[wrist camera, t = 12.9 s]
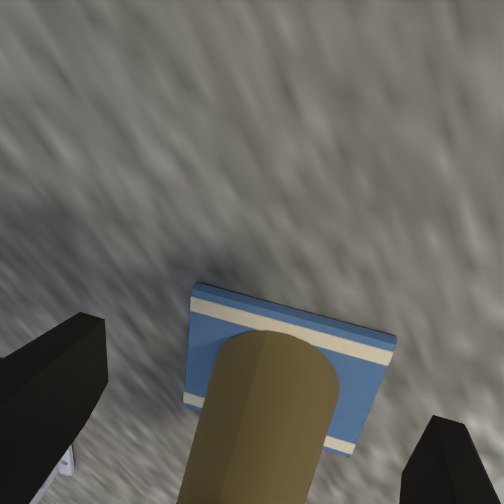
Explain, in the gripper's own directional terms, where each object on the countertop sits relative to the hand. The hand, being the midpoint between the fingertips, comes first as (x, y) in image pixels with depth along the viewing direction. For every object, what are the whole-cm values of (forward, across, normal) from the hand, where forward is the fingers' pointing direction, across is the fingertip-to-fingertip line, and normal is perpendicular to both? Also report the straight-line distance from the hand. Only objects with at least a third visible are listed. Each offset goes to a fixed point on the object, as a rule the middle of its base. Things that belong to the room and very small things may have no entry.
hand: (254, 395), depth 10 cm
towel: (+9, 0, +9) cm, 13 cm away
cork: (+9, 0, +9) cm, 13 cm away
